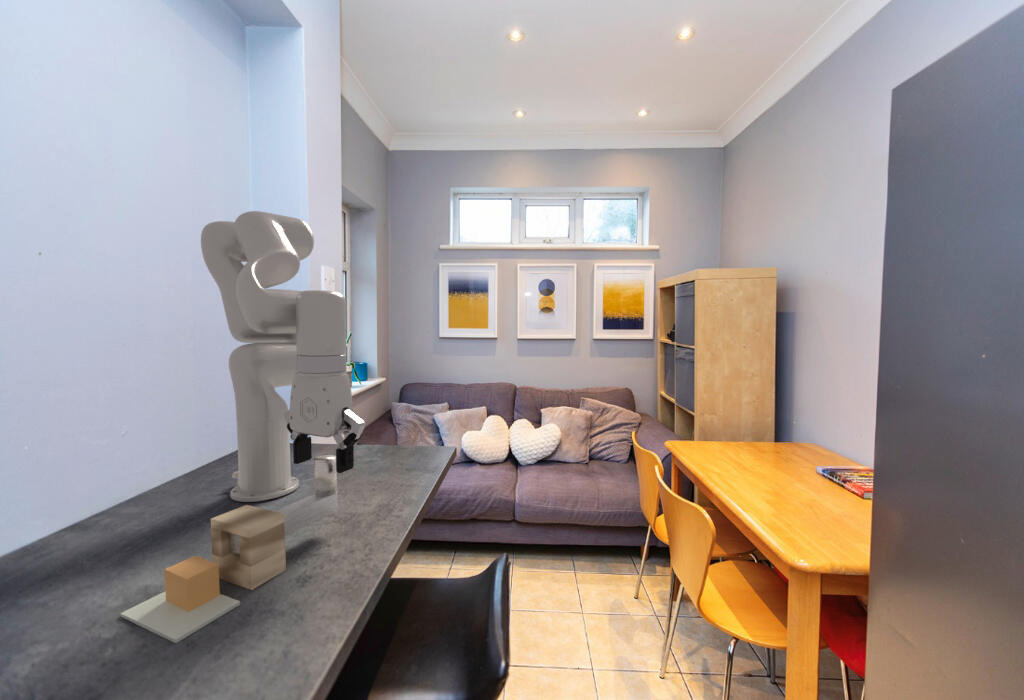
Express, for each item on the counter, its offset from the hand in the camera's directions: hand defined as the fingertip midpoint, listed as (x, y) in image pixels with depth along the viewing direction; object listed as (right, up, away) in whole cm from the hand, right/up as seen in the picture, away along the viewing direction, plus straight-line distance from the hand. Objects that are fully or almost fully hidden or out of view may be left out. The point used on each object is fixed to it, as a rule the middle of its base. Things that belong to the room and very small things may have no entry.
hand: (323, 465), depth 71 cm
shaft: (-2, -8, -6) cm, 10 cm away
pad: (-8, -12, -20) cm, 25 cm away
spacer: (-7, -9, -17) cm, 21 cm away
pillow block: (-5, -12, -12) cm, 18 cm away
